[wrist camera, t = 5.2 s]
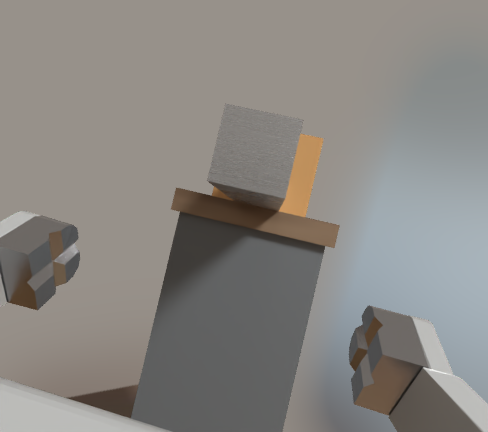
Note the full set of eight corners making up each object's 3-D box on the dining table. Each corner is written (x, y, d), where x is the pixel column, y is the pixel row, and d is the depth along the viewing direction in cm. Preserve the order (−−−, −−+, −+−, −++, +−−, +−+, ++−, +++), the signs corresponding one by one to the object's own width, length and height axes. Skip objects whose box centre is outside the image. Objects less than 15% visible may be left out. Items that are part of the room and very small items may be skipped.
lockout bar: (339, 211, 12) (375, 51, 12) (156, 169, 13) (193, 17, 13) (297, 220, 30) (312, 156, 30) (222, 203, 31) (237, 140, 31)
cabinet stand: (232, 690, 21) (339, 225, 21) (69, 632, 22) (176, 187, 22) (243, 552, 30) (318, 225, 30) (127, 515, 31) (203, 199, 31)
